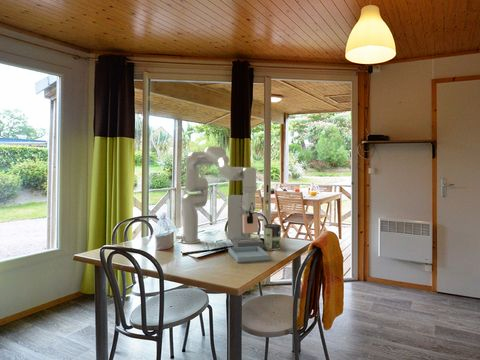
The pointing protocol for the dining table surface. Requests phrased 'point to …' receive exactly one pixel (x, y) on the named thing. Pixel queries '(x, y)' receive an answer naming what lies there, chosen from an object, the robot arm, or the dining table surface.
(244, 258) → the tray
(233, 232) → the tall white slab
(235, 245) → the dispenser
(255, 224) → the pink rectangular block
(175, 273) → the dining table surface
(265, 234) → the coffee can
